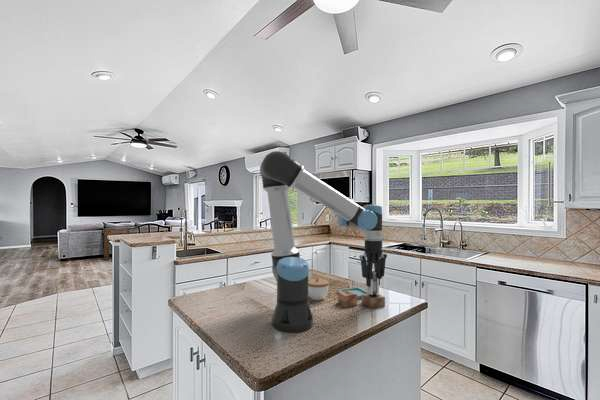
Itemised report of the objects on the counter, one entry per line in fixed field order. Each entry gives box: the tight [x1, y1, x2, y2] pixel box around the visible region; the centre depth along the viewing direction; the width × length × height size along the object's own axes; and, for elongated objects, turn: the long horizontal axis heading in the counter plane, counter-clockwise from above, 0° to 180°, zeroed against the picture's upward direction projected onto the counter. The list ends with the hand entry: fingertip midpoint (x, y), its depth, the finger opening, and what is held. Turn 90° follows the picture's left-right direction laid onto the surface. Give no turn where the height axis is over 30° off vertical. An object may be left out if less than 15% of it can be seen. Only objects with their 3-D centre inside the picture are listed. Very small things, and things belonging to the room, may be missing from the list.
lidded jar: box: [308, 277, 330, 301], centre depth 135 cm, size 11×11×9 cm
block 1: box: [337, 290, 358, 308], centre depth 128 cm, size 6×6×5 cm
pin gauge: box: [370, 270, 376, 297], centre depth 127 cm, size 3×3×13 cm
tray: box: [337, 286, 368, 300], centre depth 140 cm, size 12×12×2 cm
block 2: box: [361, 293, 386, 309], centre depth 127 cm, size 7×7×4 cm
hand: (373, 293), depth 127 cm, fingers closed on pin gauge, 3 cm apart
